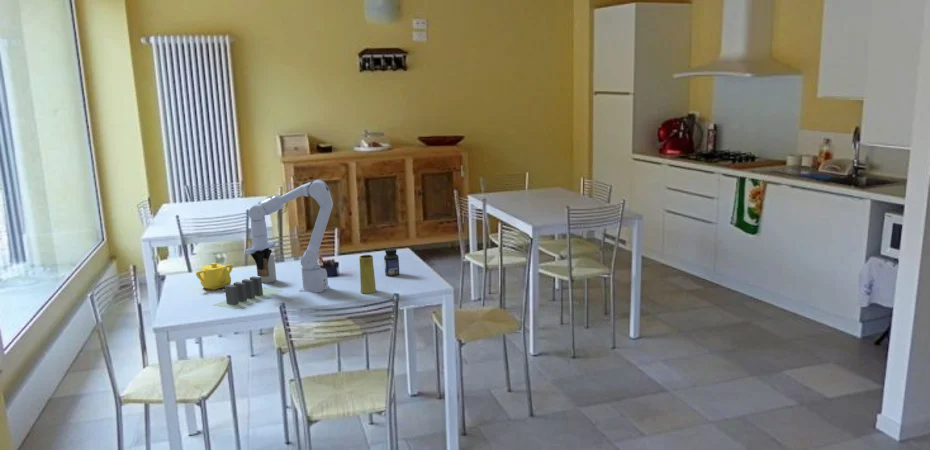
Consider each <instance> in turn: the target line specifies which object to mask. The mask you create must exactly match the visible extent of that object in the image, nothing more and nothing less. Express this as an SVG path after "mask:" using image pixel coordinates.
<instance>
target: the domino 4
mask: <svg viewBox="0 0 930 450" xmlns="http://www.w3.org/2000/svg"><path fill="white" fill-rule="evenodd" d="M256 272H257V277H260V276H261V277H267V276H269V270H268V261H267V259H265V258H263V269H262V270H260V269H258V267H257V265H256Z"/></svg>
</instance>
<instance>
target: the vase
mask: <svg viewBox="0 0 930 450" xmlns="http://www.w3.org/2000/svg"><path fill="white" fill-rule="evenodd" d="M373 256H374V255H372V254H362V255H360V256H359V272H360V273H359V275H360V294H366V295H367V294H374V293H376V292H377V288H376V278H375V267H374V258H373Z"/></svg>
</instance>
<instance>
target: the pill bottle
mask: <svg viewBox="0 0 930 450" xmlns="http://www.w3.org/2000/svg"><path fill="white" fill-rule="evenodd" d="M384 252H385V255H384V257H383V260H384V273H385V276H386V277H395V276H399V275H400V260H399V255H398V254H397V249H396V248H387V249H385V251H384Z"/></svg>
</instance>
